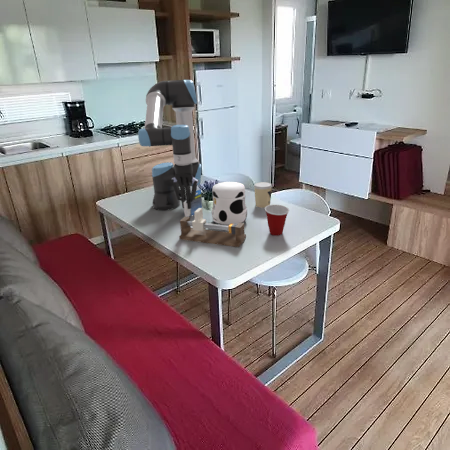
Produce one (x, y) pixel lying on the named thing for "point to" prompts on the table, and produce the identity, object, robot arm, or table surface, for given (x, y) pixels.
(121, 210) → the table surface
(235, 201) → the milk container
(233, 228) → the metal rail
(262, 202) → the coffee cup
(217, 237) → the wooden rail holder
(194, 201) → the label tape box
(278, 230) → the plastic cup
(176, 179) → the robot arm
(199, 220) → the cream stepped block
